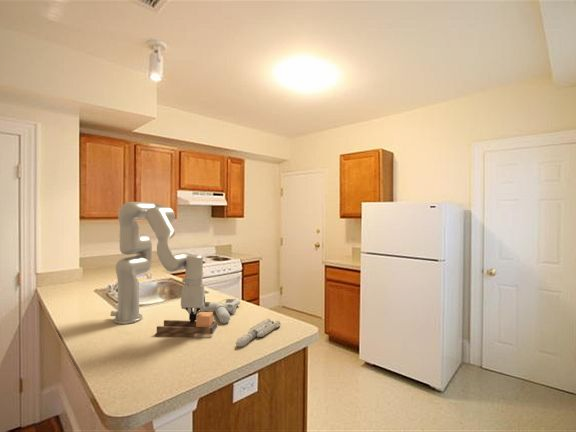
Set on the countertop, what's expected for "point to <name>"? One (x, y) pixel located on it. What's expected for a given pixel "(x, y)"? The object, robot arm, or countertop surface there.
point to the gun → (222, 309)
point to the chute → (185, 329)
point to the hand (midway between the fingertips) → (192, 321)
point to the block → (204, 319)
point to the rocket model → (257, 331)
